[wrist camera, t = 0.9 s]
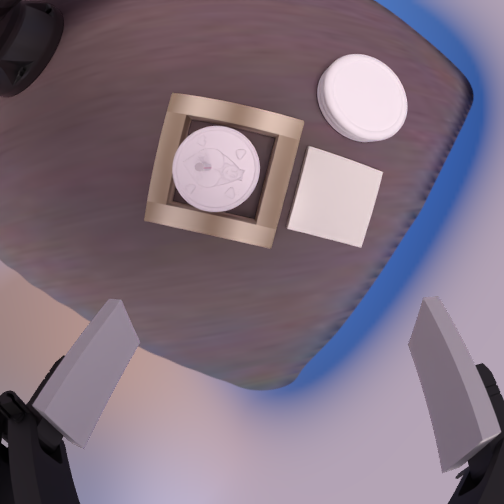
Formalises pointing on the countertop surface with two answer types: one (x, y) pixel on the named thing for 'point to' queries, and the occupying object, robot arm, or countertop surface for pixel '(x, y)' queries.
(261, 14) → the countertop surface
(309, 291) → the countertop surface
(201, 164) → the smoothie
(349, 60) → the coaster
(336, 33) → the countertop surface
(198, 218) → the square wooden frame
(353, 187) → the tile
